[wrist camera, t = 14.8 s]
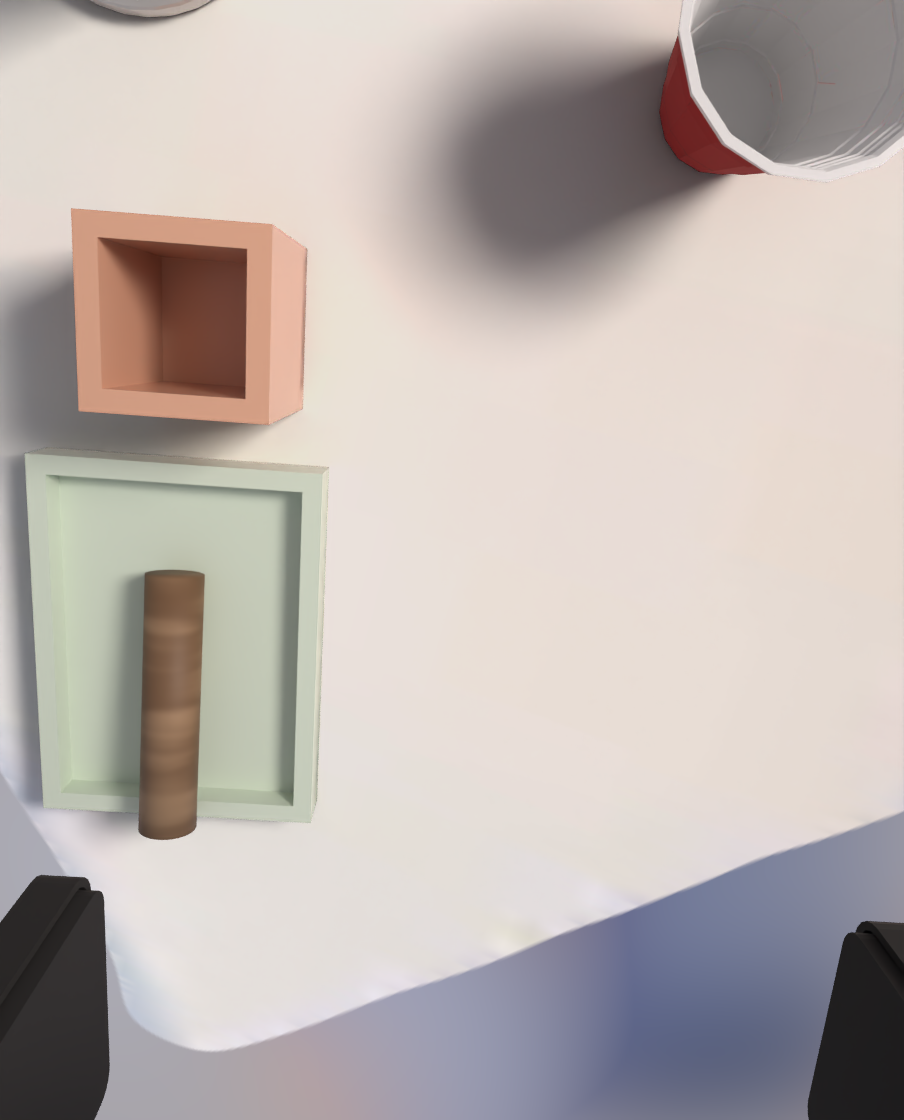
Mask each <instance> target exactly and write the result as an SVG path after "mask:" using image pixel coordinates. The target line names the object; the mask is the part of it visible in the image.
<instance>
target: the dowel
mask: <svg viewBox="0 0 904 1120" xmlns="http://www.w3.org/2000/svg"><path fill="white" fill-rule="evenodd" d="M204 586H205V574H203V573H200V572H196V571H188V570H155V571H149V572H146V573H145V579H144V620H143V662H142V703H141V745H140V786H139V828H138V830H139V833H140V834H141V835H143V836H144V837H147V838H150V839H157V840H169V839H176V838H180V837H183V836H186V835H188V834H190V833H191V832H193V831H194V830H195V828H196V821H197V792H198V763H199V733H200V704H201V674H202V645H203V615H204Z"/></svg>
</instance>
